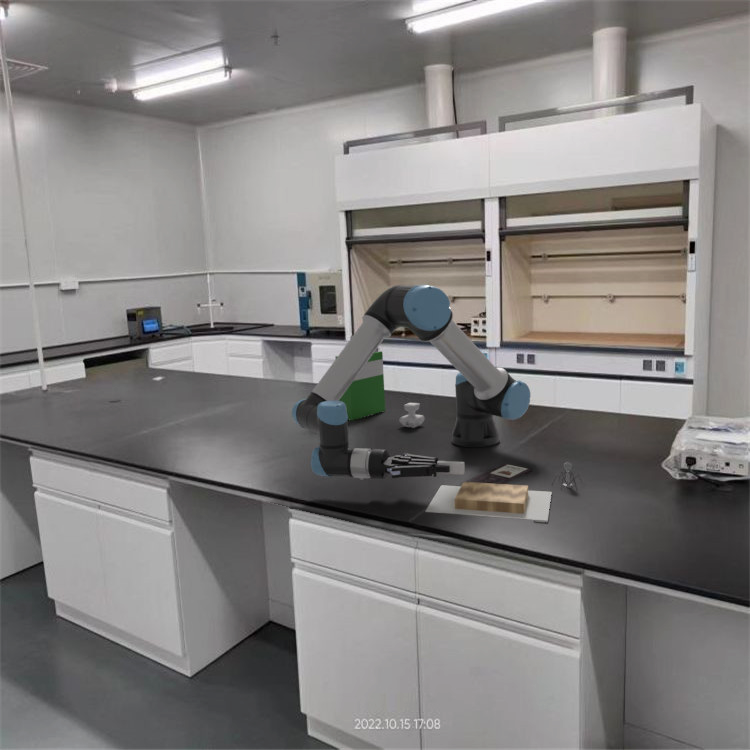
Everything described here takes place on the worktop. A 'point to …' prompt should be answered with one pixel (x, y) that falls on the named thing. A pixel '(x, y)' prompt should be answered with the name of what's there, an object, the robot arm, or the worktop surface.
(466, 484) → the plaque
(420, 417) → the stamp
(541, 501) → the mat
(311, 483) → the worktop surface
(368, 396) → the hardback book
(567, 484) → the bacteriophage
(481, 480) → the chocolate bar
